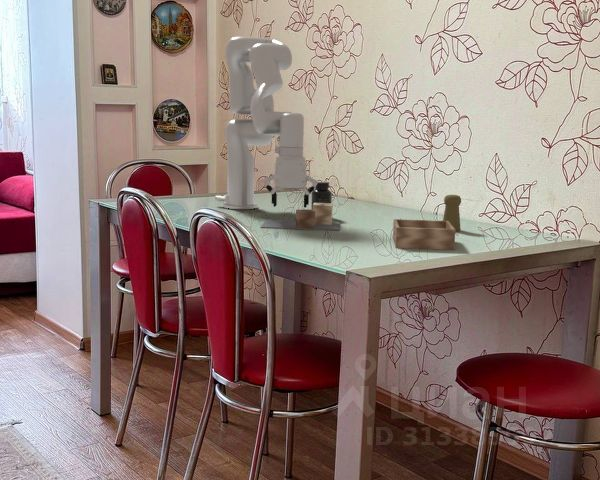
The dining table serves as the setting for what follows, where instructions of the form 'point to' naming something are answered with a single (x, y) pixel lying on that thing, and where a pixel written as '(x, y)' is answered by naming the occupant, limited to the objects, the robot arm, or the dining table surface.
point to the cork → (452, 211)
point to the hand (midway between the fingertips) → (290, 206)
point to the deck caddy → (423, 234)
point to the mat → (292, 225)
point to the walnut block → (305, 218)
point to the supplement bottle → (321, 194)
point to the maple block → (323, 213)
